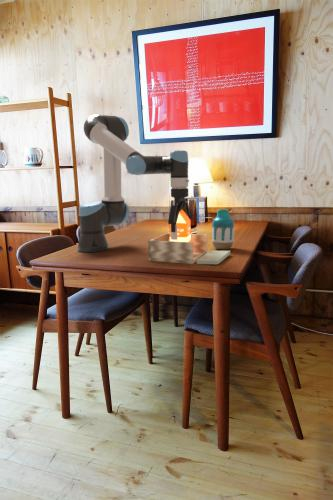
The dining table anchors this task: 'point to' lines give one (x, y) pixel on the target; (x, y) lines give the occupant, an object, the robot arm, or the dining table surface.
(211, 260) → the panel
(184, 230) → the orange juice
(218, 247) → the vase
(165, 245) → the crate
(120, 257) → the dining table surface
